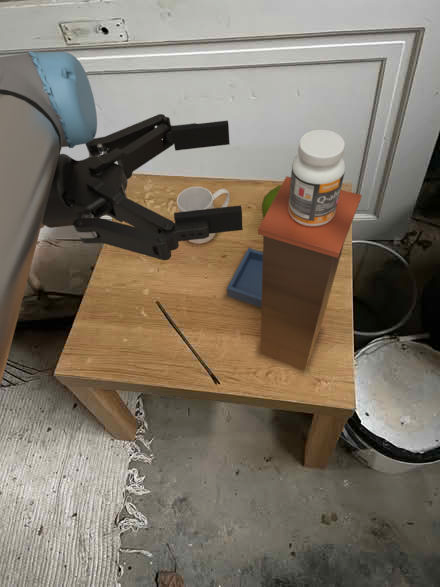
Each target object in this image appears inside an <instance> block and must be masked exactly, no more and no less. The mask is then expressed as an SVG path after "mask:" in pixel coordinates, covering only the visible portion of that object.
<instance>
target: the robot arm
mask: <svg viewBox="0 0 440 587" xmlns="http://www.w3.org/2000/svg"><path fill="white" fill-rule="evenodd" d="M97 131H98V117H97V108H96V104H95V98H94V93H93V90H92V86H91V83H90V80H89V77H88V75H87V72H86V70H85V69H84V66H83V64H82V63H81V62H80V60H79V59H78V58H77V57H76V56H75V55H73V54H72V53H70V52H68V51H45V52H44V51H43V52H41V51H40V52H35V51H32V50H31V51H28V52H27V53H21V54H20V53H19V54H14V55H7V56H0V387H1V385H2V382H3V379H4V374H5V370H6V366H7V362H8V359H9V354H10V349H11V346H12V342H13V338H14V335H15V331H16V328H17V323H18V319H19V314H20V312H21V308H22V304H23V299H24V296H25V292H26V287H27V284H28V279H29V275H30V272H31V269H32V263H33V261H34V256H35V252H36V248H37V244H38V240H39V236H40V232H41V229H43V228H44V227H47V228H49V229H53V228H61V227H71V226H73V227H74V229H75V231H76V233H77V235H78V237H79V239H80V241H81V243H83V244H103V245H108V246H112V247H114V248H118V249H122V250H126V251H128V252H131V253H136V254H139V255H143V256H146V257H149V258H154V259H157V260H161V261H168V260H170V259H171V258H172V251H176V250H177V249H179V246H180V244H179V242H185V241H188V240H194V239H195V240H196V239H205V238H207V237H209V234H211V233H216V234H219V233H229V232H237V231H243V230H244V229H243V209H242V208H243V207H242V205H241V204H240V205H231V206H227V207H221V206H220V207H214V208H212V209H203V210H194V211H185V212H179V211H178V212H177V211H176V212H173V219H174V221H173V220H171V219H170V218H167V217H166V216H164V215H162V214H160V213H158V212H156V211H154V210H152V209H150V208H148V207H146V206H144V205H142V204H140V203H138V202H136V201H134V200H132V199H130V198H128V197H127V193H126V190H127V188H128V180H129V179H130V178H132V176H133V173H134V172H135V171H136V170H138V169H139V168H141V167H142V166H144V165H145V164H147V163H149V162H150V161H152V160H153V159H154V158H156V157H158V156H159V155H160V154H161V153H163V152H165V151H166V150H168V149H169V148H171V147H172V146H174V151H184V150H192V149H203V148H212V147H220V146H221V147H222V146H228V145H231V143H230V126H229V120H219V121H210V122H202V123H196V122H195V123H194V122H193V123H186V124H175V125H172V124H171V118H170V117H169V116H166V115H165V114H164V113H163V114H162V113H158V114H156V115H154V116H152V117H148V118H146V119H144V120H142V121H139V122H137V123H135V124H132V125H130V126H129V125H128V126H127V127H124V128H122V129H120V130H117V131H115V132H111V133H110V134H108V135H105V136H99V137H96V135H97ZM79 145H85V146H86V149H87V152H88V157H86V158H84V159H80V160H76V159H74V158H73V157H71V156H69V155H68V154H67V153H61V151H62V148H67V147H68V148H69V149H73V148H74V147H75V146H79ZM116 162H117V163H116ZM106 215H107V216H108V217H110V218H112V219H114V220H116V221H113V220H109V219H106V218H102V217H104V216H106ZM117 221H118V222H117ZM123 222H125V223H126V224H125V223H123Z"/></svg>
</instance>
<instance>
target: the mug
mask: <svg viewBox="0 0 440 587" xmlns="http://www.w3.org/2000/svg"><path fill="white" fill-rule="evenodd" d="M223 194H225V198H224V199H225V200H224V202H223V203H222V205H221V206H220V208H221V207H229V204H230V200H231V194H230V192H229V190H227V189H226V188H220V189H218V190H216V191H215V192H213V193H212V192H211V191H210V190H209V189H208V188H206V187H202V186H190V187H187V188H185V189H183V190H181V191H180V193H179V194H178V195H177V198H176V205H177V211H178V212H185V211H194V210H203V209H212V208H215V205H214V201H215V200H216V199H217V198H218V197H220V196H221V195H223ZM216 234H217V233H211V234H209V237H207V238H205V239H196V240H195V239H194V240H187V241H188V242H190V243H192V244H198V245H200V244H201V245H202V244H206V243H208V242H210V241H211V240H213V238H214V237H215V236H216Z"/></svg>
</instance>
